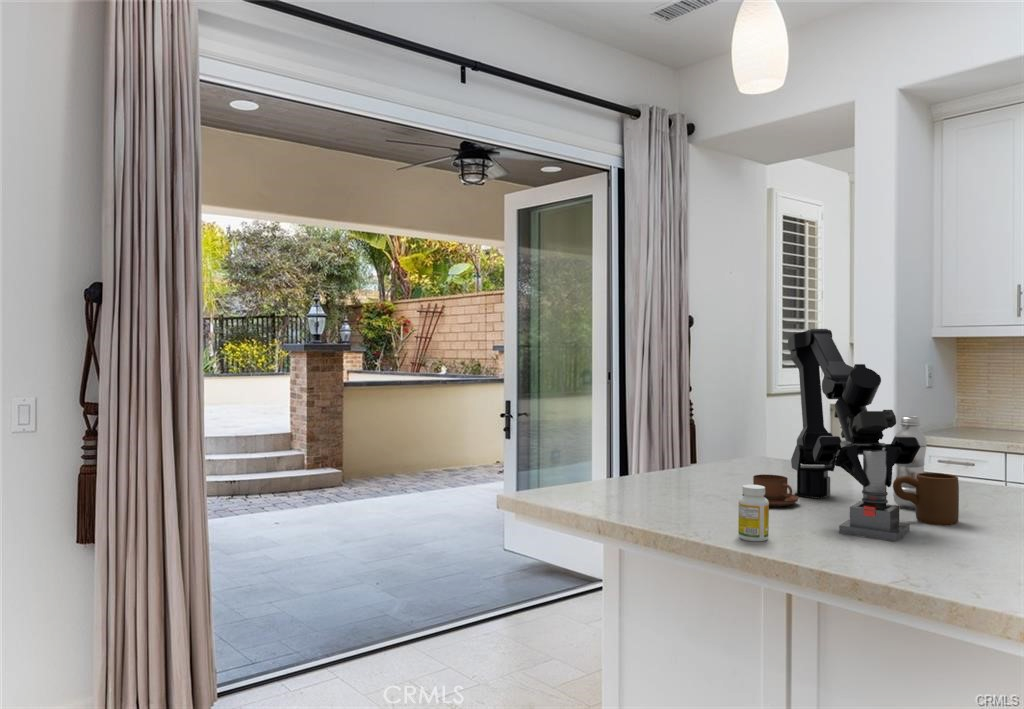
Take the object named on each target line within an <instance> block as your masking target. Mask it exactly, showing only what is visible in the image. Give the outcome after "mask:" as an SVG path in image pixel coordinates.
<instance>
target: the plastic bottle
mask: <svg viewBox="0 0 1024 709" xmlns="http://www.w3.org/2000/svg"><path fill="white" fill-rule="evenodd" d="M920 421H921V419H920V417H919V416H904V415H903V416H901V417H900V423H899V425H900V426H901V427H900V428H899V430H898V431H897V432H896V433H895V435H894V437H915V438H916V439H917V440H918V442H919V444H920V449H919V450H918V452H917V454H916V456H915V458H914V459H913V461H912V463H909V464H895V465H896V466H895V470H896V471H895V472H896V473H895V479H896V478H897V477H900V476H905V475H906V476H910V477H912V478H915V479H916V475H917V474H918V473H925V467H924V466H925V459H926V458H925V457H926V452H927V451H926V450H927V444H928V441H927V438H926V436H925V435H924V433H923V431H921V429H920V426H921V422H920ZM894 437H893V438H894ZM901 487H902V490H903V491H905V492H910V493H913V494H915V495H916V487H914V486H912V485H909V484H907V483H902V484H901ZM892 496H893V501H894V502H895V505H897V506H899V507H903V508H906V509H916V505H915V504H914V503H912V502H911V501H907V500H903V499H901V498H899V497H898V496H897V495H896V494H895V492H894V491H893V494H892Z"/></svg>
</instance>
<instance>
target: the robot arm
mask: <svg viewBox="0 0 1024 709" xmlns="http://www.w3.org/2000/svg"><path fill="white" fill-rule="evenodd" d="M787 350H788V351H789V352H790V358H791V359H790V360H791V361H792V362H793V364H794V365H795V367H797V369H798V374H799V376H798V377H799V378H798V379H799V390H800V402H801V403H800V404H801V405H800V406H801V417H802V430H801V431H800V433H799V435H797V438H796V446H795V448H794V451H793V453H792V456H791V458H790V461H791V462H790V463H791V464H790V465H791V468H792V469H793V470H795V471H796V477H797V478H796V492H795V493H794V494H793V495H796V496H798V497H805V498H813V499H821V500H822V499H824V498H827V497H828V496H831V476H829V472H834V471H835V469H836V468H835V467H839V468H841V469H843V470H844V471H845V472H846V473H848V474H849V475H850V476H852V477H853V478H854V480H856V481H857V482H858V483H859V484H860V485H861V486H862V487H863V486H864V487H866V486H867V479H866V476H865V473H864V471H863V465H862V464H861V461H860V458H859V455H860V456H863V450H867V449H873V450H884V451H887V480H886V488H891V487H892V485H893V482H892V481H893V468H894V466H895V465H896V464H909V463H912V461H913V459H914V458H915V456H916V454H917V452H918V450H919V449H920V444H919V442H918V440H917V439H916V438H915V437H893V439H892V441H891V443H885V442H880V440H882V439H883V438H884V434H883V432H884V431H885V430H887V429H889V428H890V429H891V428H893V427H895V426H896V424H897V418H896V415H895V412H894V410H893V409H882V411H881V410H878V411H876V410H873V411H872V410H869V411H868V408H867V406H869V405H871V404H872V403H873V401H874V398H875V396H876V394H877V392H878V389H879V388H880V385H881V382H882V378H881V374H878V373H877V372H876V371H875V370H873V369H871V368H868V367H866V364H865V363H861V364H860V363H855V364H854V366H851V365H849V364H847V363H846V362H845V360H844V358H843V356H842V355H841V352H840V350H839V348H838V346H837V345H836V342H835V341H834V339H833V333H832V330H831V329H828V328H810V329H806V330H805V331H802V332H800V331H797V332H795V331H794V332H793V333H792V335H790V336H789V337H788V339H787ZM820 369H821V371H822V373H823V378H822V382H821V373H820V372H821V371H820ZM822 393H823V395H825V397H826V398H827V399H828V400H836V401H835V404H834V414H833V416H834V418H836V419H837V418H838V421H839V424H840V427H841V428H840V429H841V432H840V436H841V437H840V436H837V435H833V434H832V432H829V431H828V430H827V429H826V427H825V424H824V423H825V421H824V411H823V397H822V396H823V395H822ZM841 438H843V439H845V440H842V439H841Z"/></svg>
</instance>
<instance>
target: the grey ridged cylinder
mask: <svg viewBox="0 0 1024 709" xmlns="http://www.w3.org/2000/svg"><path fill="white" fill-rule="evenodd" d="M862 456H863V457H862V461H863V462H862V468H863V471H864V473H865V476H866V479H867V486H866V487H864V486H862V490H861V494H862V497H861V501H863V506H862V507H864V506H865V505H869V506H877V509H880V510H887V508H886V504H888V503H889V502H888V501H889V500H888V499H887V496H888V494H889V492H888V491H887V485H886V480H887V451H884V450H873V449H867V450H863V455H862Z"/></svg>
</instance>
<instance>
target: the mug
mask: <svg viewBox="0 0 1024 709" xmlns="http://www.w3.org/2000/svg"><path fill="white" fill-rule="evenodd" d="M902 483H907V484H909V485H912V486H914V487H916V495H915V494H913V493H910V492H905V491H903V490H902V487H901V484H902ZM892 489H893V493H894V492H895V494H896V495H897V496H898V497H899V498H901V499H903V500H907V501H911V502H912V503H914V504H915V505H916V508H915V518H916V520H917V521H918V522H920V523H924V524H927V525H928V524H929V525H934V526H954V525H957V524H958V522H959V516H960V515H959V510H960V509H959V508H960V504H959V503H960V499H959V498H960V484H959V477H958V476H957V475H955V474H954V475H953V474H949V473H942V472H924V473H918V474H917V475H916V479H915V478H912V477H910V476H906V475H905V476H900V477H897V478H896V477H895V479H894V480H893V482H892Z"/></svg>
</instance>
